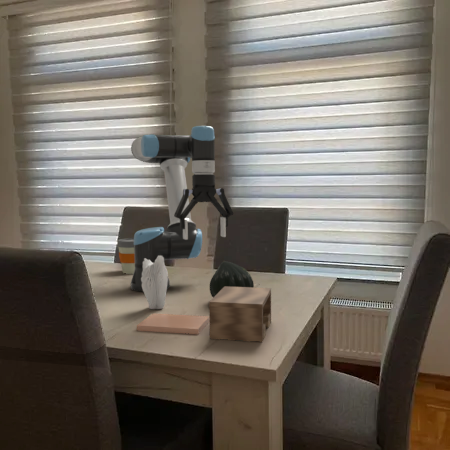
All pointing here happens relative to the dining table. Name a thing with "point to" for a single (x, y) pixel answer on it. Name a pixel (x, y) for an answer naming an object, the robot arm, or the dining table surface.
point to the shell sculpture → (155, 282)
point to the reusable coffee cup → (127, 255)
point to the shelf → (240, 313)
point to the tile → (174, 323)
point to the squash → (229, 277)
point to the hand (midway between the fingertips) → (204, 237)
